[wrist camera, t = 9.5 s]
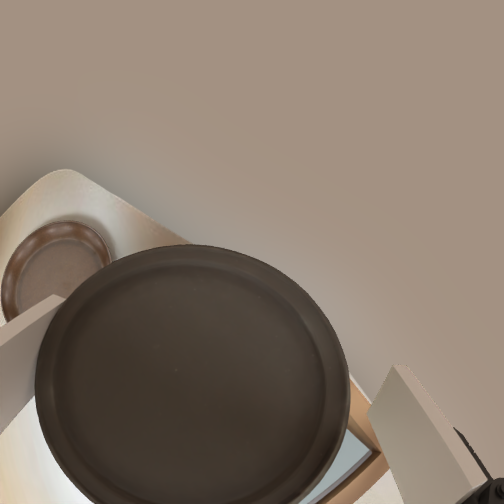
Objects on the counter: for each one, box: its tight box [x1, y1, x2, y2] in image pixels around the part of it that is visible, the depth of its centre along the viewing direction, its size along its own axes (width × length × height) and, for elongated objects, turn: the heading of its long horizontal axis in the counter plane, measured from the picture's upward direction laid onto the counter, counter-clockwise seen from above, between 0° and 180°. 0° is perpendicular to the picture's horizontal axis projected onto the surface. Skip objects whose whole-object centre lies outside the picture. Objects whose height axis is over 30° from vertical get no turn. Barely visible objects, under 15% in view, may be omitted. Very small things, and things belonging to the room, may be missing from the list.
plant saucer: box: [1, 221, 112, 323], centre depth 34 cm, size 21×21×3 cm
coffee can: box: [34, 244, 351, 504], centre depth 13 cm, size 10×10×14 cm
